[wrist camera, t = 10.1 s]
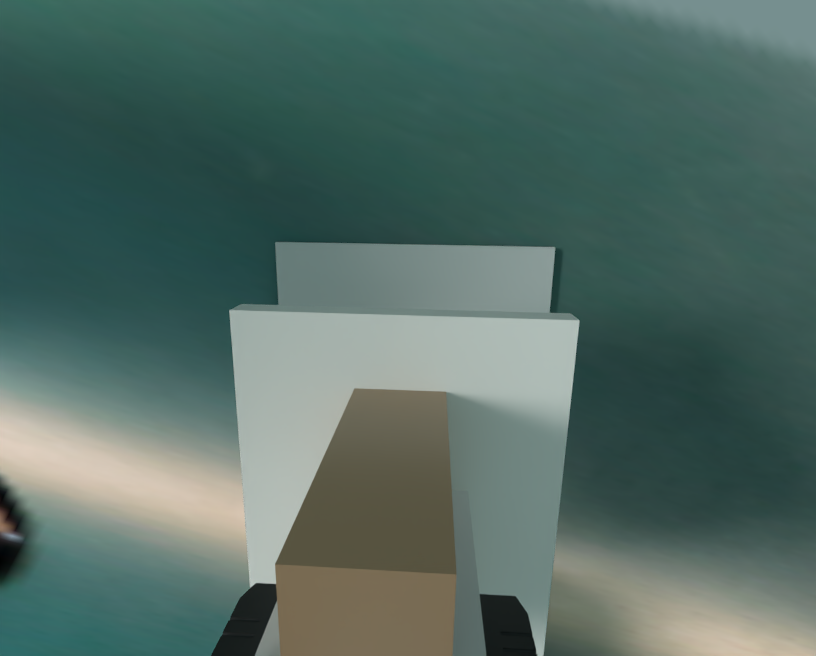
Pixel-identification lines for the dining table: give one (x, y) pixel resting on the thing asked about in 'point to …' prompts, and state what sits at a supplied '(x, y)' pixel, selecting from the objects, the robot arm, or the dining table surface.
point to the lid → (398, 466)
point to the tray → (415, 276)
